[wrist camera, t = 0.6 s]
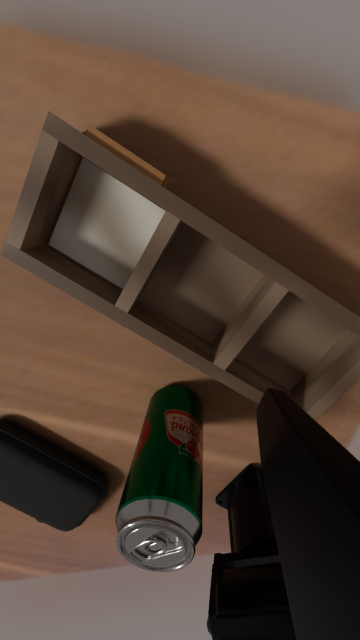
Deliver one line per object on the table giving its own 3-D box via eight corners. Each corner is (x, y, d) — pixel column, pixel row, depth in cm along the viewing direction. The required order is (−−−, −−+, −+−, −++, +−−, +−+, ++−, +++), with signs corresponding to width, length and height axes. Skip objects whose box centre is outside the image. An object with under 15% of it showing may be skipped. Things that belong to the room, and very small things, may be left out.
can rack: (288, 398, 24) (304, 430, 21) (36, 248, 21) (0, 254, 18) (369, 314, 21) (405, 335, 17) (83, 123, 18) (52, 99, 14)
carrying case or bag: (-31, 464, 32) (78, 520, 34) (-55, 488, 29) (66, 548, 31) (-1, 405, 28) (119, 472, 30) (-24, 426, 25) (110, 499, 27)
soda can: (214, 408, 25) (221, 558, 14) (174, 433, 27) (153, 586, 16) (178, 372, 24) (157, 503, 13) (139, 400, 26) (90, 539, 15)
